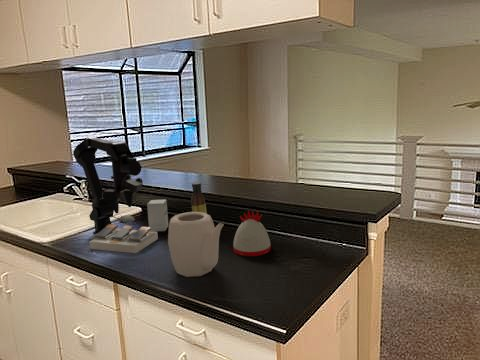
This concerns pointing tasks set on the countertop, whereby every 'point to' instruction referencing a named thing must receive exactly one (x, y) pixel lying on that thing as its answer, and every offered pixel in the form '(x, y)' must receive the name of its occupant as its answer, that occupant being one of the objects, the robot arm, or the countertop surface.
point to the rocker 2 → (123, 232)
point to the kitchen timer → (251, 237)
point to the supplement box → (157, 215)
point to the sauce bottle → (198, 199)
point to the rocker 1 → (106, 231)
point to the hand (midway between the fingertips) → (123, 210)
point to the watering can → (193, 243)
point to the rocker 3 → (140, 233)
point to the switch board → (122, 242)
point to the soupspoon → (127, 218)
